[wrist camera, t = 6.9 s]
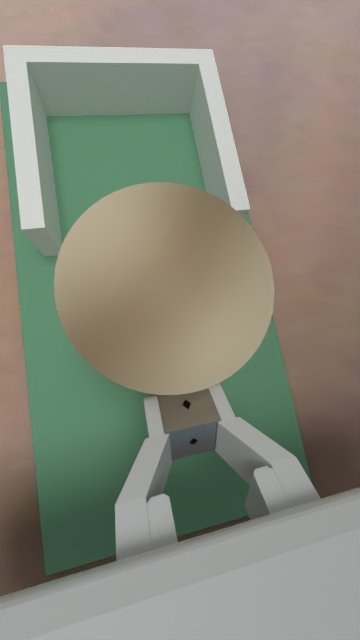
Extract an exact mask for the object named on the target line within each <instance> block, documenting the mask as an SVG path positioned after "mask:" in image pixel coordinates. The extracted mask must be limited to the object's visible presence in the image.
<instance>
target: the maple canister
mask: <svg viewBox="0 0 360 640" xmlns="http://www.w3.org/2000/svg"><path fill="white" fill-rule="evenodd" d="M274 296H275V292H274V278H273V273H272V268H271V264H270V261H269V258H268V255H267V253H266V250H265V248H264V246H263V244H262V242H261V240H260V239H259V237H258V235H257V233H256V232H255V231H254V229H253V228H252V227H251V225H250V224H249V223H248V222H247V221H246V220H245V219H244V218H243V217H242V215H241V214H240V213H239V212H237V211H236V210H235V209H234V208H232V207H231V206H230V205H229V204H227V203H226V202H224V201H223V200H221V199H220V198H218V197H216V196H214V195H212V194H210V193H208V192H206V191H203V190H201V189H198V188H195V187H192V186H188V185H184V184H178V183H170V182H150V183H142V184H137V185H133V186H129V187H125V188H123V189H120V190H118V191H115V192H113V193H111V194H109V195H107V196H105V197H103V198H102V199H100V200H99V201H98V202H96V203H95V204H93V205H92V206H91V207H90V208H88V209H87V210H86V211H85V212H84V213H83V214H82V215H81V216H80V217H79V219H78V220H77V221H76V222H75V224H74V225H73V226H72V227H71V229H70V231H69V232H68V234H67V236H66V237H65V239H64V242H63V244H62V246H61V249H60V251H59V254H58V258H57V262H56V266H55V274H54V297H55V302H56V308H57V312H58V315H59V318H60V321H61V324H62V326H63V328H64V330H65V332H66V334H67V336H68V338H69V340H70V342H71V343H72V344H73V346H74V347H75V349H76V350H77V352H78V353H79V354H80V355H81V356H82V357H83V358H84V359H85V360H86V361H87V363H88V364H90V365H91V366H92V367H93V368H94V369H96V370H97V371H98V372H99V373H100V374H102V375H104V376H105V377H107V378H109V379H110V380H112V381H113V382H115V383H118V384H120V385H122V386H124V387H127V388H129V389H133V390H136V391H139V392H143V393H149V394H156V395H180V394H188V393H193V392H197V391H200V390H204V389H207V388H209V387H211V386H214V385H216V384H218V383H220V382H222V381H223V380H225V379H227V378H228V377H230V376H232V375H233V374H234V373H235V372H237V371H238V370H239V369H240V368H242V367H243V366H244V364H245V363H246V362H247V361H248V360H249V359H250V358H251V357H252V356H253V354H254V353H255V352H256V350H257V349H258V347H259V346H260V344H261V342H262V340H263V338H264V336H265V335H266V332H267V330H268V327H269V324H270V321H271V317H272V312H273V308H274Z"/></svg>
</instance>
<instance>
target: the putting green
mask: <svg viewBox="0 0 360 640" xmlns="http://www.w3.org/2000/svg"><path fill="white" fill-rule="evenodd" d="M3 51H4V61H5V71H6V81H7V82H0V100H1V111H2V121H3V132H4V143H5V153H6V164H7V174H8V185H9V195H10V206H11V217H12V227H13V238H14V248H15V259H16V270H17V280H18V291H19V301H20V312H21V323H22V333H23V344H24V354H25V365H26V376H27V386H28V397H29V407H30V418H31V428H32V439H33V450H34V460H35V471H36V481H37V492H38V503H39V513H40V524H41V534H42V545H43V556H44V566H45V576H48V575H51V574H54V573H58V572H61V571H64V570H68V569H71V568H74V567H78V566H81V565H85V564H88V563H91V562H95V561H98V560H101V559H105V558H108V557H111V556H115V555H116V531H115V504H116V502H117V499H118V497H119V495H120V493H121V491H122V488H123V486H124V484H125V482H126V480H127V477H128V475H129V473H130V471H131V469H132V466H133V464H134V462H135V460H136V458H137V455H138V453H139V451H140V449H141V447H142V444H143V442H144V440H145V439H146V438H149V434H148V427H147V421H146V414H145V407H144V398H145V397H151V396H156V394H149V393H143V392H139V391H136V390H133V389H129V388H127V387H124V386H122V385H120V384H118V383H115V382H113V381H112V380H110V379H109V378H107V377H105V376H104V375H102V374H100V373H99V372H98V371H97V370H96V369H94V368H93V367H92V366H91V365H90V364H88V363H87V361H86V360H85V359H84V358H83V357H82V356H81V355H80V354H79V353H78V352H77V350H76V349H75V347H74V346H73V344H72V343H71V342H70V340H69V338H68V336H67V334H66V332H65V330H64V328H63V326H62V324H61V321H60V318H59V315H58V312H57V308H56V302H55V297H54V274H55V266H56V262H57V258H58V254H59V251H60V249H61V246H62V244H63V242H64V239H65V237H66V236H67V234H68V232H69V231H70V229H71V227H72V226H73V225H74V224H75V222H76V221H77V220H78V219H79V217H80V216H81V215H82V214H83V213H84V212H85V211H86V210H87V209H88V208H90V207H91V206H92V205H93V204H95V203H96V202H98V201H99V200H100V199H102V198H103V197H105V196H107V195H109V194H111V193H113V192H115V191H118V190H120V189H123V188H125V187H129V186H133V185H137V184H142V183H150V182H170V183H178V184H184V185H188V186H192V187H195V188H198V189H201V190H203V191H206V192H208V193H210V194H212V195H214V196H216V197H218V198H220V199H221V200H223V201H224V202H226V203H227V204H229V205H230V206H231V207H232V208H234V209H235V210H236V211H237V212H239V213H240V214H241V215H242V217H243V218H244V219H245V220H246V221H247V222H248V223H249V224H250V225H251V222H250V218H249V214H248V212H249V210H250V206H249V201H248V197H247V193H246V189H245V185H244V180H243V176H242V172H241V168H240V164H239V159H238V155H237V151H236V147H235V143H234V138H233V134H232V130H231V126H230V122H229V117H228V113H227V109H226V105H225V101H224V96H223V92H222V88H221V84H220V80H219V75H218V71H217V67H216V63H215V59H214V54H213V50H212V49H171V48H122V47H73V46H24V45H3ZM251 227H252V226H251ZM219 384H220V385H221V387H222V389H223V391H224V393H225V395H226V397H227V400H228V402H229V404H230V406H231V408H232V410H233V412H234V414H235V417H241V418H242V419H243V420H245V421H246V422H248V423H249V424H250V425H252V426H253V427H255V428H256V429H257V430H259V431H260V432H262V433H263V434H265V435H266V436H267V437H269V438H270V439H272V440H273V441H274V442H276V443H277V444H279V445H280V446H281V447H283V448H284V449H286V450H287V451H288V452H290V453H291V454H293V455H294V456H295V457H296V458H297V459H298V461H299V463H300V464H301V466H302V468H303V469H304V471H305V473H306V474H307V476H308V478H309V480H310V481H311V483H312V480H311V476H310V472H309V467H308V463H307V459H306V455H305V451H304V446H303V442H302V438H301V434H300V429H299V425H298V421H297V417H296V413H295V408H294V404H293V400H292V396H291V391H290V387H289V383H288V379H287V374H286V370H285V366H284V362H283V358H282V353H281V349H280V345H279V341H278V336H277V332H276V328H275V324H274V319H273V315H272V317H271V321H270V324H269V327H268V330H267V332H266V335H265V336H264V338H263V340H262V342H261V344H260V346H259V347H258V349H257V350H256V352H255V353H254V354H253V356H252V357H251V358H250V359H249V360H248V361H247V362H246V363H245V364H244V366H243V367H242V368H240V369H239V370H238V371H237V372H235V373H234V374H233V375H232V376H230V377H228V378H227V379H225V380H223V381H222V382H220V383H219ZM312 485H313V484H312ZM249 488H250V485H249V484H248V483H247V482H246V481H245V480H244V479H243V478H242V477H241V476H240V475H239V474H238V473H237V472H236V471H235V470H234V469H233V468H232V467H231V466H230V465H229V464H228V463H227V462H226V461H225V460H224V459H223V458H222V457H221V456H220V455H219V454H218V453H217V452H216V451H215V450H213V451H208V452H204V453H199V454H194V455H191V456H187V457H183V458H180V459H176V460H173V461H172V464H171V467H170V471H169V474H168V477H167V481H166V484H165V487H164V491H163V494H165V495H167V496H169V498H170V504H171V509H172V514H173V519H174V525H175V530H176V535H177V537H178V536H182V535H185V534H188V533H192V532H195V531H198V530H202V529H205V528H208V527H212V526H215V525H218V524H222V523H225V522H228V521H232V520H235V519H238V518H242V517H245V516H248V513H247V510H246V508H245V502H246V498H247V495H248V491H249Z"/></svg>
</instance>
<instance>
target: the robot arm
mask: <svg viewBox="0 0 360 640" xmlns="http://www.w3.org/2000/svg"><path fill="white" fill-rule="evenodd" d="M144 407H145V414H146V421H147V427H148V434H149V438H146V439H145V440H144V442H143V444H142V447H141V449H140V451H139V453H138V455H137V458H136V460H135V462H134V464H133V466H132V469H131V471H130V473H129V475H128V477H127V480H126V482H125V484H124V486H123V488H122V491H121V493H120V495H119V497H118V499H117V502H116V504H115V531H116V561H114V562H111V563H107V564H104V565H101V566H98V567H94V568H91V569H88V570H84V571H81V572H78V573H75V574H71V575H68V576H65V577H61V578H58V579H55V580H52V581H48V582H45V583H42V584H38V585H35V586H32V587H29V588H25V589H22V590H19V591H15V592H12V593H9V594H6V595H2V596H0V640H360V487H357V488H354V489H351V490H347V491H344V492H341V493H337V494H334V495H331V496H328V497H324V498H320V497H319V495H318V493H317V491H316V490H315V488H314V486H313V485H312V483H311V481H310V480H309V478H308V476H307V474H306V473H305V471H304V469H303V468H302V466H301V464H300V463H299V461H298V459H297V458H296V457H295V456H294V455H293V454H291V453H290V452H288V451H287V450H286V449H284V448H283V447H281V446H280V445H279V444H277V443H276V442H274V441H273V440H272V439H270V438H269V437H267V436H266V435H265V434H263V433H262V432H260V431H259V430H257V429H256V428H255V427H253V426H252V425H250V424H249V423H248V422H246V421H245V420H243V419H242V418H241V417H235V414H234V412H233V410H232V408H231V406H230V404H229V402H228V400H227V397H226V395H225V393H224V391H223V389H222V387H221V385H220V384H219V383H218V384H216V385H214V386H211V387H209V388H207V389H204V390H200V391H197V392H193V393H188V394H180V395H156V396H151V397H145V398H144ZM213 450H215V451H216V452H217V453H218V454H219V455H220V456H221V457H222V458H223V459H224V460H225V461H226V462H227V463H228V464H229V465H230V466H231V467H232V468H233V469H234V470H235V471H236V472H237V473H238V474H239V475H240V476H241V477H242V478H243V479H244V480H245V481H246V482H247V483H248V484H249V485H250V488H249V491H248V495H247V498H246V502H245V508H246V510H247V513H248V516H249V518H250V520H249V521H245V522H242V523H239V524H236V525H232V526H229V527H226V528H222V529H219V530H216V531H213V532H209V533H206V534H203V535H199V536H196V537H193V538H190V539H186V540H183V541H180V542H178V540H177V535H176V530H175V525H174V519H173V514H172V509H171V504H170V498H169V496H167V495H165V494H163V491H164V487H165V484H166V481H167V477H168V474H169V471H170V467H171V464H172V461H173V460H176V459H180V458H183V457H187V456H191V455H194V454H199V453H204V452H208V451H213Z"/></svg>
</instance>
